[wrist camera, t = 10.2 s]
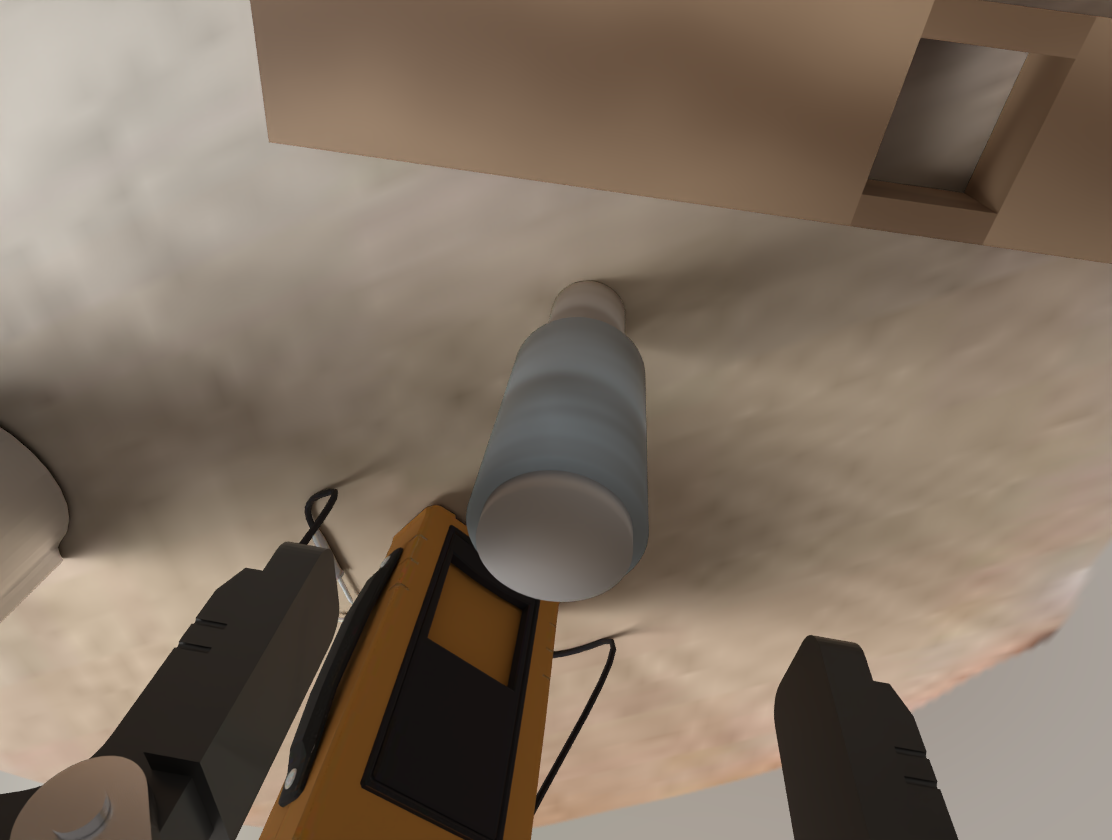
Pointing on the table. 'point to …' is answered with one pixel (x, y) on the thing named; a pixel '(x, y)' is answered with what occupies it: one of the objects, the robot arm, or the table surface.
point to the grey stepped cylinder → (567, 456)
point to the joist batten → (705, 103)
